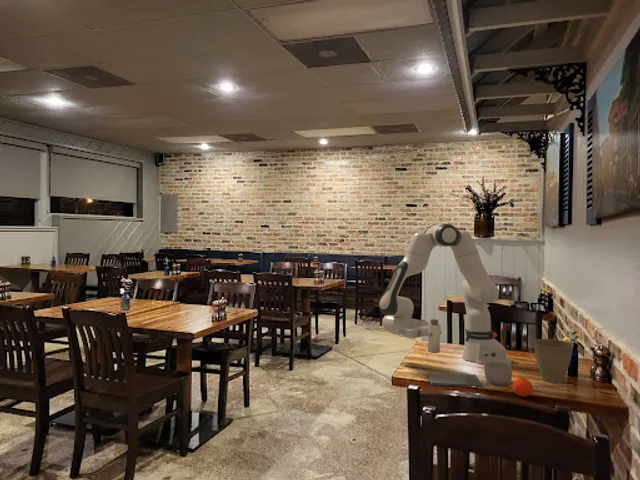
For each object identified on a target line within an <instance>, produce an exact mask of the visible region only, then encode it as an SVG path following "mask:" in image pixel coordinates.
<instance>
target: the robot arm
mask: <svg viewBox="0 0 640 480" xmlns="http://www.w3.org/2000/svg"><path fill="white" fill-rule="evenodd" d="M435 247H440V248H441V247H450V249H451V250H452V252H453V256H454V259H455V262H456V264H457V268H458V270H459V272H460V274H461V275H462V276H463V277H464V279H463V280H462V282H461V284H460V292H461V294H462V296H463V302H464V307H465V313H466V314H465V315H466V317H465V318H466V323H465V325H466V326H465V329H464V340H465V343H464V348H463V353H462V355H461V358H462V359H463V360H465V361H469V362H473V363H475V364H476V363H477V364H479V365H484V363H486V362H489V361H497V360H499V361H502V362H507V363H510V364H512V363H513V362H512V358H511V357H510V356H508V355H507V350H506V348H505V346H503V345H502V343H500V341H498V340H496V339H495V338H497V336H498V333H496V332H494V331H492V330H491V314H490V310H489V309H488V306H487V305H488V304H491V303H494V302H496V301H497V299H498V298H499V295H500V291H499V287H498V286H497V285H496V284H495V283H494V282H493V280H492V278H491V277H490V274H488V272H487V269H486V268H485V265H484V264H483V262H482V259H481V257H480V254H479V251H478V248H477V246H476V242H475V241H474V239H473V236H472V235H471V234H470V232H469V231H467V230H465V229H464V230H463V229H460V230H459V229H457V227H455V226H454V225H452V224H451V223H446V222H445V223H444V222H441V223H439V222H438V223H434V224H431V225H430V226H429V227H427V229H426V230H425V231H418V232H415V233H414V234H413V236H412V238H411V240H410V242H409V243H408V247H407V250H406V252H405V254H404V257H403V258H402V260H401V262H399V263H398V264H397V266H396V267H395V269H394V270H393V273H392V276H391V278H390V280H389V282H388V284H387V287H386V288H385V290H384V292H383V294H382V296H380V299H379V301H378V308H379V311H380V312H381V314H382V315H384V317H383V318H382V324H381V325H382V327H383V329H384V330H385V331H387V332H388V333H390V334H393V335H396V336H402V337H406V338H409V339H416V338H423V337H430V336H432V332H428V330H429V324H431V321H427V320H426V319H417V318H413V314H414V309H415V304H414V302H413V300H411V299H410V298H408V297H405V296H399V293H400V291H401V288H402V287H403V284H404V282H405V280H406V279H407V278H408V277H410V276H413V275H418V274H420V273H422V272H423V271H425V269H426V268H427V266H428V263H429V260H430V256H431V253H432V250H433V249H434V248H435ZM441 327H442V326H441V325H440V335H442V329H441Z"/></svg>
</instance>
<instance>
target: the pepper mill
mask: <svg viewBox="0 0 640 480" xmlns="http://www.w3.org/2000/svg"><path fill="white" fill-rule="evenodd" d="M430 322H431V324H429V330H428V332H432V336H430V337H428V336H427V337H428V338H427V339H428V342H427V343H428V344H427V345H428V346H427V352H428V353H430V354H439V353H440V352H441V334H440V326H441V324H440V323H439V319H435V318H432V319H430Z"/></svg>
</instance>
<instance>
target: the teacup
mask: <svg viewBox="0 0 640 480" xmlns="http://www.w3.org/2000/svg"><path fill="white" fill-rule="evenodd" d="M483 367H484V368H483V369H484V370H483V371H484V378H485V380H486V381H487V382H489V384H491V385H494V384H495V385H494V386H506V385H508V384H509V383H510V382H512V379H513V365H512V363H507V362H502V361H499V360H497V361H489V362H486V363H484V364H483Z"/></svg>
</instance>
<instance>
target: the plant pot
mask: <svg viewBox="0 0 640 480" xmlns="http://www.w3.org/2000/svg"><path fill="white" fill-rule="evenodd" d="M533 347H534V348H533V349H534V354H535V358H536V363H537V367H538V371H539V373H540V376H541V378H542V380H543V382H546V383H549V384H550V383H551V384H562V383H563V381H564V379H565V377H566V374H567V372H568V369H569V367H570V363H571V359H572V356H573V349H574V344H573V343H572V342H569V341H565V340H559V339H552V338H551V339H550V338H540V339H539V338H538V339H534V340H533Z"/></svg>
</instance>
